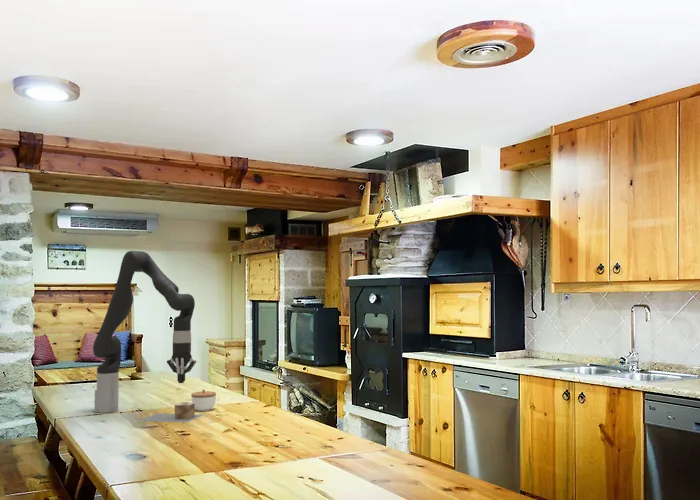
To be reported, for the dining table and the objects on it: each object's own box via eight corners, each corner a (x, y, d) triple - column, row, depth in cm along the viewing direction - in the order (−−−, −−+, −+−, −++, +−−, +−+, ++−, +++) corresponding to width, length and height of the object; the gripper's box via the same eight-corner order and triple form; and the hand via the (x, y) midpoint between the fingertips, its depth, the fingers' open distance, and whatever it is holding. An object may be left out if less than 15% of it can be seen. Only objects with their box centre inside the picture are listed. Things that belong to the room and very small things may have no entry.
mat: (137, 421, 269) (137, 420, 269) (156, 414, 285) (156, 413, 285) (187, 423, 265) (187, 422, 265) (203, 415, 281) (203, 414, 281)
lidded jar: (218, 408, 297) (218, 387, 298) (211, 413, 287) (211, 391, 287) (195, 408, 298) (195, 387, 299) (187, 413, 288) (187, 391, 288)
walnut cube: (188, 404, 271) (188, 419, 270) (194, 402, 277) (194, 416, 276) (174, 404, 272) (174, 419, 272) (181, 402, 278) (181, 416, 277)
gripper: (163, 341, 274) (162, 383, 273) (192, 342, 271) (192, 384, 270) (171, 340, 281) (170, 381, 280) (200, 340, 278) (199, 382, 278)
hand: (181, 382), depth 275 cm, fingers closed
